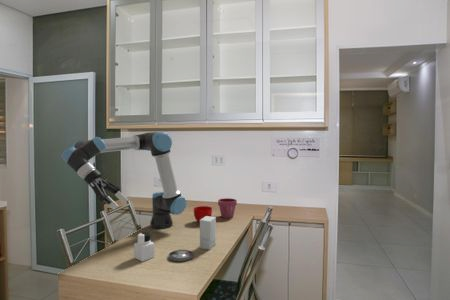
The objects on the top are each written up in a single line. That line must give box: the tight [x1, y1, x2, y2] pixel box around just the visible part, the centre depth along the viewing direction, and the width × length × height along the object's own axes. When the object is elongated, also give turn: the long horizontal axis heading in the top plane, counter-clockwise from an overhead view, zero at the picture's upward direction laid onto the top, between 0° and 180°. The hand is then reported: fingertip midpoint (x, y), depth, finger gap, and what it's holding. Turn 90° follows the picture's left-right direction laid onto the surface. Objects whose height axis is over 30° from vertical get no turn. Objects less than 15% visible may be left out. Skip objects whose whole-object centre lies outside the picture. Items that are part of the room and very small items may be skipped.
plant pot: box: [217, 197, 238, 219], centre depth 208 cm, size 14×14×13 cm
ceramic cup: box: [193, 205, 213, 224], centre depth 192 cm, size 13×17×10 cm
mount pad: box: [168, 249, 194, 263], centre depth 135 cm, size 12×12×1 cm
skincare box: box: [199, 216, 217, 250], centre depth 148 cm, size 8×7×16 cm
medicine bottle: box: [133, 231, 155, 262], centre depth 134 cm, size 7×7×12 cm
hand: (121, 204), depth 133 cm, fingers open, 13 cm apart
